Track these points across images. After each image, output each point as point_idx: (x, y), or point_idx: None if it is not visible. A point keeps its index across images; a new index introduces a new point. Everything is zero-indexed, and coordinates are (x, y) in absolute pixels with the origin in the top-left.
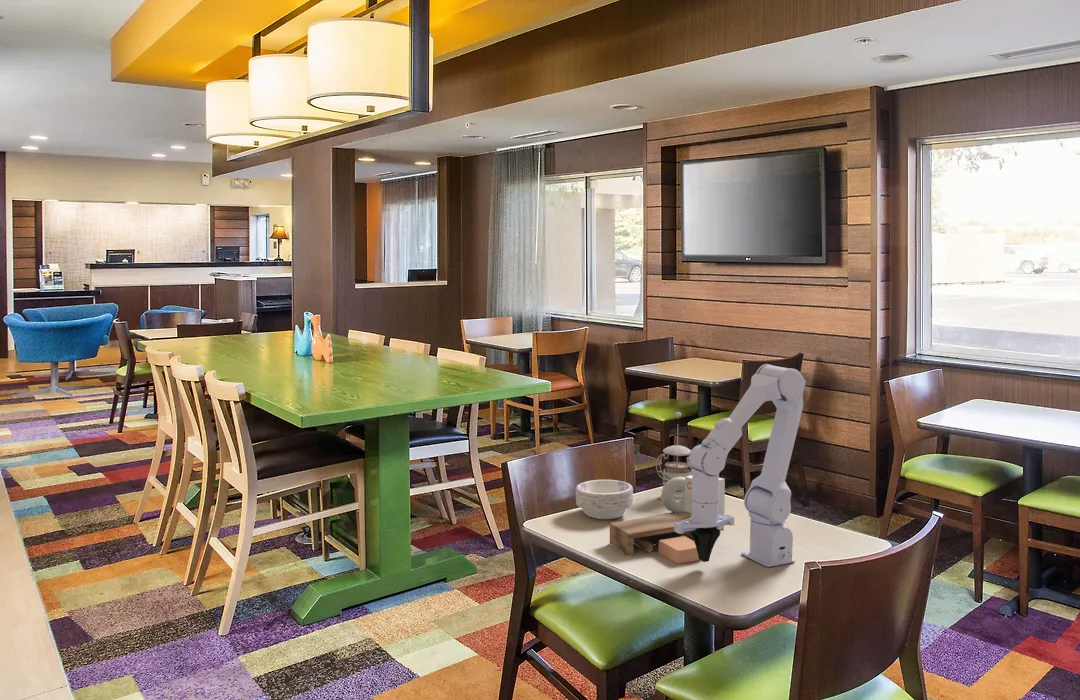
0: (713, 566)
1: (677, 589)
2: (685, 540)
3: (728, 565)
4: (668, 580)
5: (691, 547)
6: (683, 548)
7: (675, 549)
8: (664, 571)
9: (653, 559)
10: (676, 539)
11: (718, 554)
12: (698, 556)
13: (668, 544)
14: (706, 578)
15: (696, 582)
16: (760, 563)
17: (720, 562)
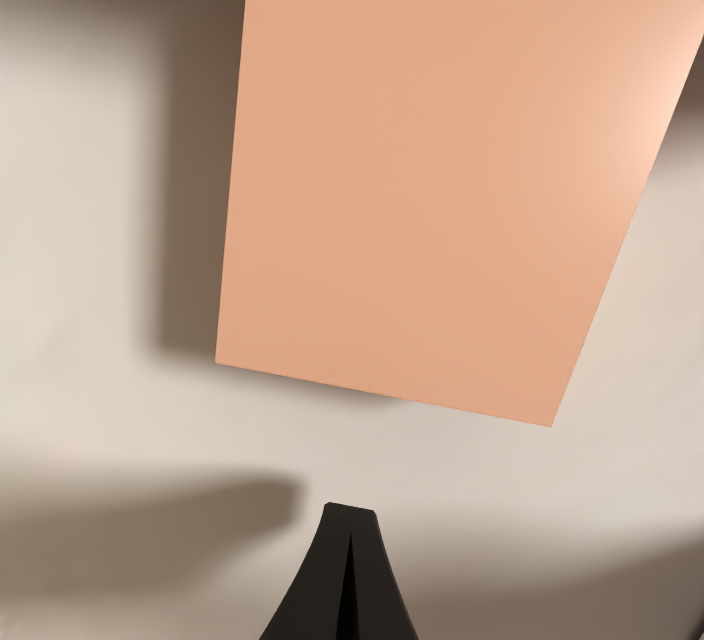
0: (434, 493)
1: (11, 585)
2: (563, 138)
3: (529, 533)
4: (29, 485)
5: (413, 371)
6: (314, 345)
7: (220, 310)
8: (84, 371)
9: (146, 122)
10: (499, 16)
11: (683, 361)
12: (321, 519)
13: (255, 124)
14: (249, 580)
15: (161, 584)
16: (700, 638)
17: (536, 474)
